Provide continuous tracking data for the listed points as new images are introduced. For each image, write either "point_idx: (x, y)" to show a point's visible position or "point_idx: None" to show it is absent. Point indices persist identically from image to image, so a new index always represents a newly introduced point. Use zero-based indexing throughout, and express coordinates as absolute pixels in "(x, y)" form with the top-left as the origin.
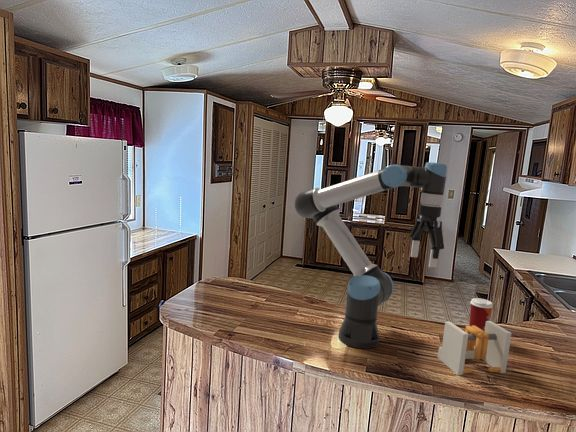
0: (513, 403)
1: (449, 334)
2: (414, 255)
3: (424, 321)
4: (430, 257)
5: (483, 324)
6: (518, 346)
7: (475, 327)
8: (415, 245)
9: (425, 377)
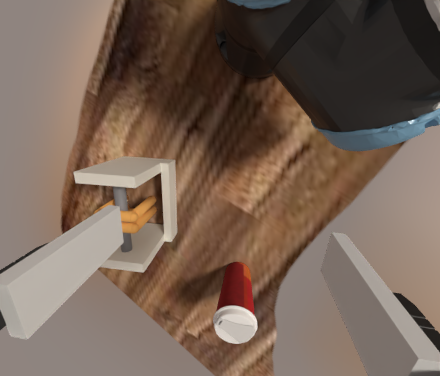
0: (65, 182)
1: (126, 170)
2: (331, 258)
3: (314, 228)
4: (69, 234)
5: (221, 289)
6: (201, 302)
7: (123, 227)
8: (368, 323)
9: (116, 98)
